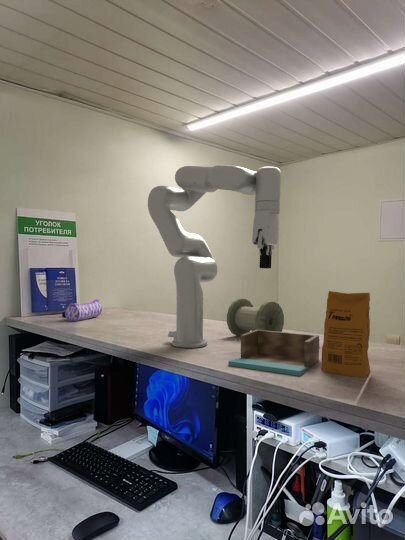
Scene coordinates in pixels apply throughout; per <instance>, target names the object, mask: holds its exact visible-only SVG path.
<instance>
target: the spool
mask: <svg viewBox="0 0 405 540" xmlns="http://www.w3.org/2000/svg"><path fill="white" fill-rule="evenodd" d="M226 325H227V328H228V330H229V332H230V333H231V334H232V335H234V336H236V337H241V335H243V334H245V333H248V332H251V331H254V330H266V331H276V332H283V329H284V325H285V316H284V310H283V308H282V307H281V305H280V304H279V303H277V302H275V301H265V302H264V303H263V304H261V305H260V307H254V305H253V304H252V303H251V301H250V300H248V299H246V298H237V299H235V300H234V301H232V302H231V304H230V305H229V307H228V309H227V313H226Z"/></svg>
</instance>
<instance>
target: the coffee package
mask: <svg viewBox="0 0 405 540" xmlns="http://www.w3.org/2000/svg"><path fill="white" fill-rule="evenodd" d="M370 302H371V294H370V292H350V293H349V292H348V293H346V292H340V291H332V290H328V293H327V299H326V311H325V319H324V322H323V323H324V326H323V327H324V329H323V344H322V347H321V371H322V372H325V373H329V374H334V375H335V374H336V375H341V376H347V377H355V378H366V377H368V376H369V375H370V373H371V366H370V360H369V356H368V355H369V354H368V351H369V345H370V344H369V341H370V335H371V334H370V332H371V319H370V309H371V308H370V307H371V306H370Z"/></svg>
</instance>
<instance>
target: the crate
mask: <svg viewBox="0 0 405 540" xmlns="http://www.w3.org/2000/svg"><path fill="white" fill-rule="evenodd" d="M319 347H320V335H316V334H309V333H307V334H305V333H296V332H286V331H282V332H276V331H266V330H254V331H250V332H248V333H245V334H243V335H241V336H240V358H243V359H251V360H258V361H266V362H273V363H281V364H288V365H296V366H303V367H308V370H309V369H310V368H311V367H312V366H314V365H315V364H316V363H317V362H318V361H319V360H320V348H319Z"/></svg>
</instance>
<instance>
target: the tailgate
mask: <svg viewBox="0 0 405 540" xmlns="http://www.w3.org/2000/svg"><path fill="white" fill-rule="evenodd" d="M227 362H228V363H227V364H228V366H230V367H236V368H244V369H249V370H250V369H251V370H255V371H256V370H257V371H263V372H272V373H278V374H285V375H290V376H299V377H301V376H302V375H304V374H305V372H307V371H308V370H309V369H308V367H303V366H296V365H288V364H281V363H273V362H266V361H258V360H251V359H243V358H241V357H238V358H233V359H231V360H228V361H227Z"/></svg>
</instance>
